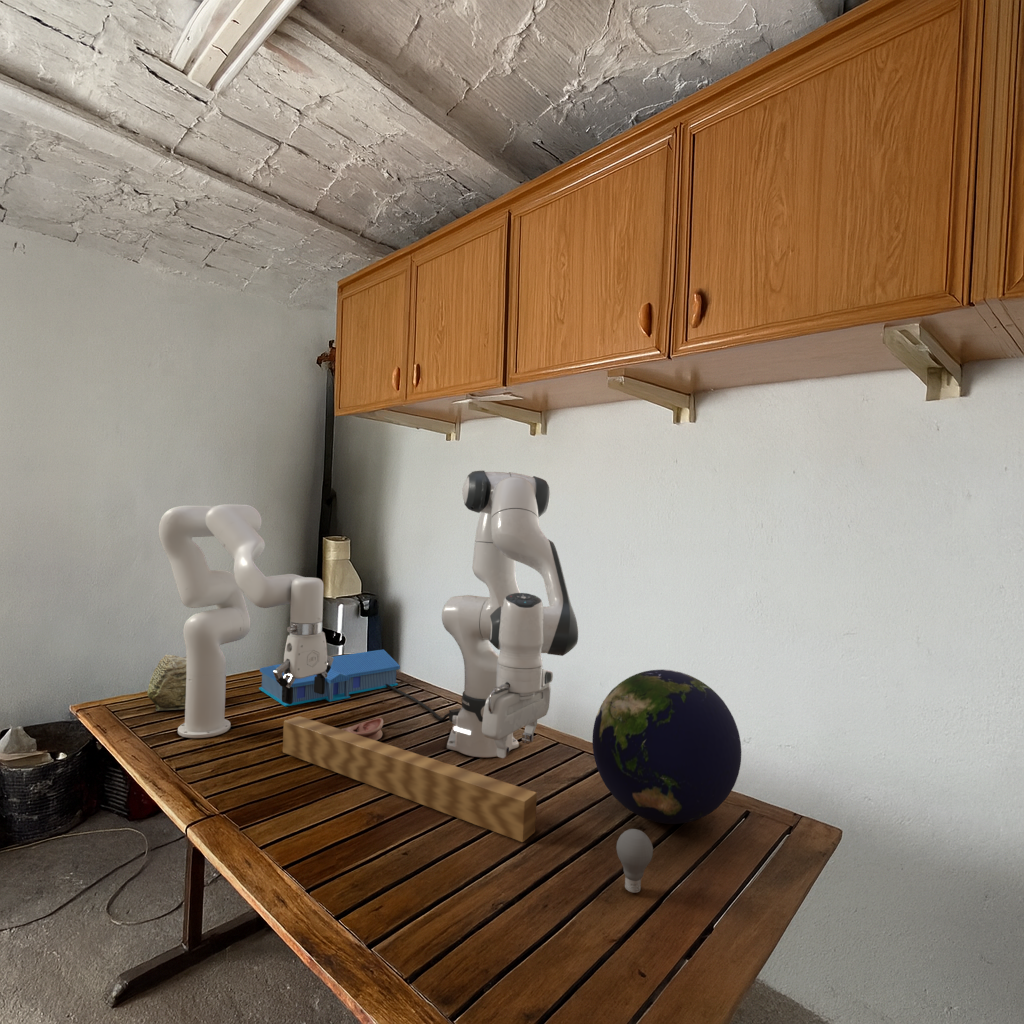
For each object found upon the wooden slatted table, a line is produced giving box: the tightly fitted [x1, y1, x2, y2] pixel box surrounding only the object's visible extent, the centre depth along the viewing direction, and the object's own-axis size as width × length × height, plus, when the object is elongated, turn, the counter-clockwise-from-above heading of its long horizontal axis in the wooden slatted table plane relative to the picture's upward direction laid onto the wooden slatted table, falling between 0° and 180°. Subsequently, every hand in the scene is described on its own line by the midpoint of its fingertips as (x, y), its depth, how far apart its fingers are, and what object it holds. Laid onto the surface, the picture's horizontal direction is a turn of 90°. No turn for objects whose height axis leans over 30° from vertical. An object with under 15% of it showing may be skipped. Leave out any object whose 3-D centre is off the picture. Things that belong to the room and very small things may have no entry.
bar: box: [282, 715, 538, 843], centre depth 139 cm, size 69×5×8 cm, turn 58°
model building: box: [258, 649, 401, 707], centre depth 208 cm, size 39×24×10 cm, turn 132°
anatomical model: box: [340, 717, 384, 741], centre depth 167 cm, size 13×4×12 cm
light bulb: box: [615, 828, 654, 894], centre depth 106 cm, size 6×6×10 cm
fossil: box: [147, 654, 187, 712], centre depth 185 cm, size 9×18×15 cm, turn 132°
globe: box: [592, 668, 742, 825], centre depth 132 cm, size 30×30×30 cm
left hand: (303, 697), depth 155 cm, fingers open, 9 cm apart
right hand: (515, 749), depth 123 cm, fingers open, 8 cm apart
